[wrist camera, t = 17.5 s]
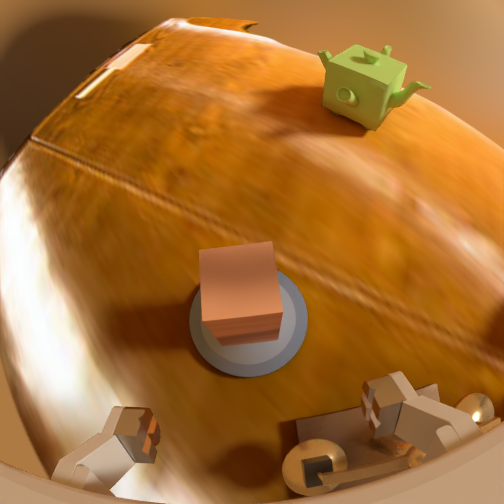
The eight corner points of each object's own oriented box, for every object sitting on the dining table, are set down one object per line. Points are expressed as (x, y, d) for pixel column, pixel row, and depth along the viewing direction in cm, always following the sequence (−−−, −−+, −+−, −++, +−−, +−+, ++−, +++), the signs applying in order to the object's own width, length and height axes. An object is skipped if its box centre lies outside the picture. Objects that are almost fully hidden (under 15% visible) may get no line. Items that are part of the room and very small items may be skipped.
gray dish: (315, 368, 26) (316, 367, 25) (195, 382, 25) (193, 381, 25) (295, 260, 31) (296, 256, 30) (189, 273, 31) (187, 270, 30)
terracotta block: (278, 340, 26) (283, 312, 18) (222, 346, 26) (202, 321, 18) (270, 288, 29) (272, 241, 21) (218, 294, 28) (199, 250, 20)
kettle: (379, 89, 46) (391, 39, 36) (417, 138, 40) (440, 82, 30) (304, 89, 46) (308, 32, 36) (332, 141, 39) (344, 73, 29)
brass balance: (453, 447, 20) (523, 453, 10) (284, 499, 20) (294, 551, 10) (444, 379, 24) (514, 359, 14) (274, 422, 23) (280, 438, 14)
